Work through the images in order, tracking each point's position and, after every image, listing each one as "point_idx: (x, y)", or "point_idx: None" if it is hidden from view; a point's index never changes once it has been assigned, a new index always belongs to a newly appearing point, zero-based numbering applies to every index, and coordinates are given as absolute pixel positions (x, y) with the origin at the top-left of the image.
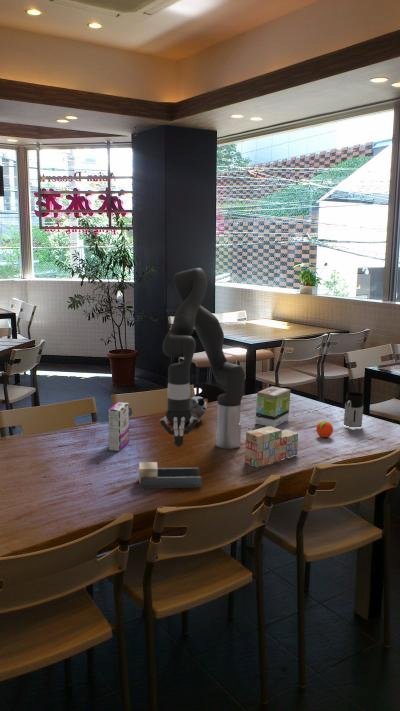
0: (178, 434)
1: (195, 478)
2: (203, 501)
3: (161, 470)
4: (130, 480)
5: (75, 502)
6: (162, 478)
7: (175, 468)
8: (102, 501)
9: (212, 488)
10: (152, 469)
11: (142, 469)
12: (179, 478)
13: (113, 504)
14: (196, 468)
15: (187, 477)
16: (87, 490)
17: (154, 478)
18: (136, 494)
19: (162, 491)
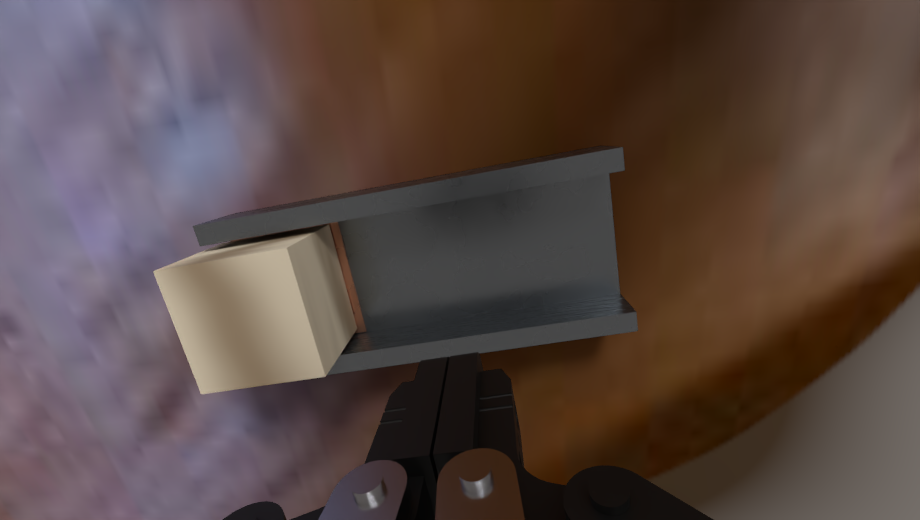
0: (435, 459)
1: (594, 334)
2: (623, 460)
3: (346, 219)
4: (191, 255)
5: (53, 511)
6: (380, 365)
7: (442, 193)
8: (157, 495)
9: (684, 308)
10: (291, 379)
11: (224, 390)
12: (488, 350)
13: (214, 516)
14: (604, 171)
15: (541, 339)
16: (36, 399)
17: (332, 373)
18: (281, 418)
19: (402, 374)
